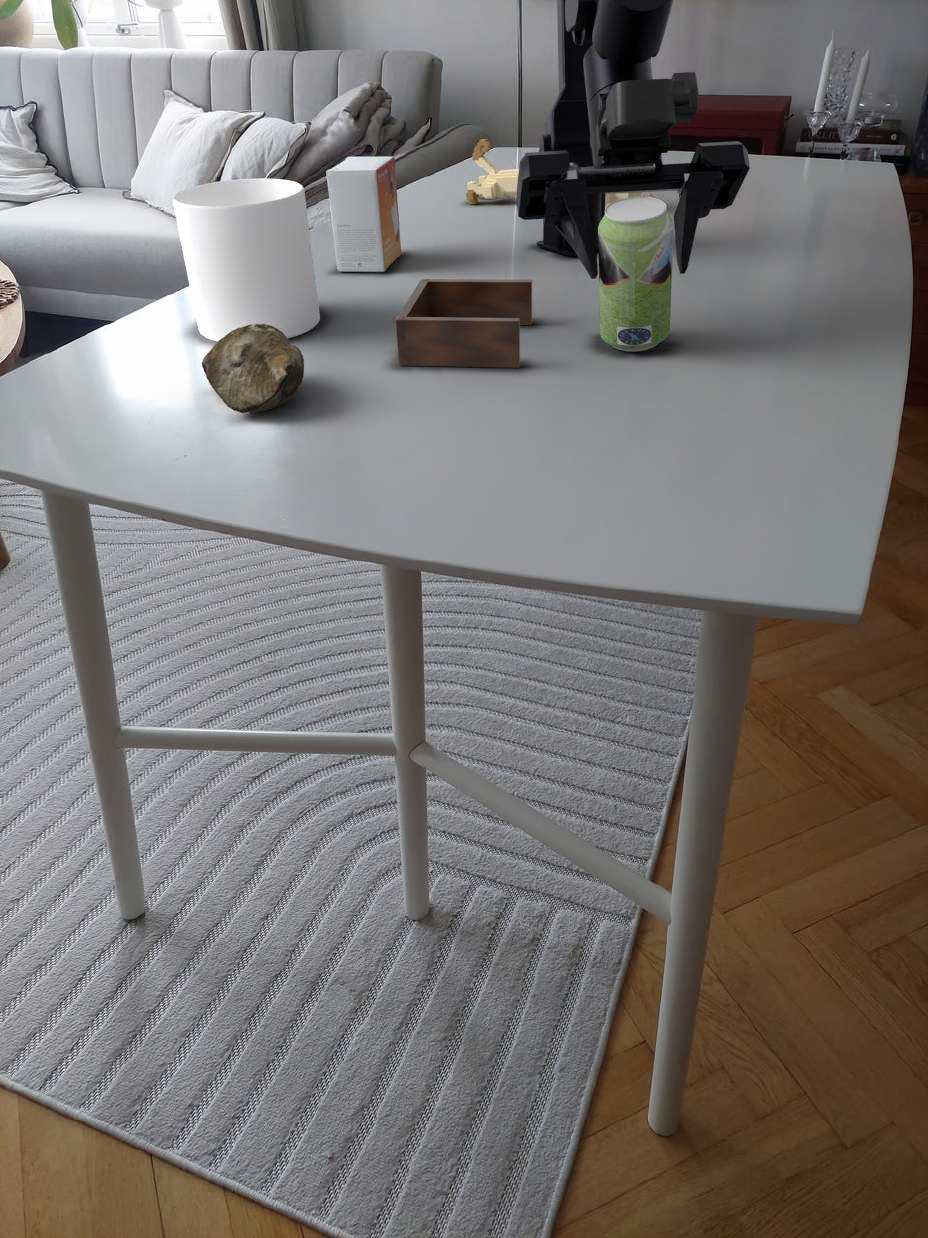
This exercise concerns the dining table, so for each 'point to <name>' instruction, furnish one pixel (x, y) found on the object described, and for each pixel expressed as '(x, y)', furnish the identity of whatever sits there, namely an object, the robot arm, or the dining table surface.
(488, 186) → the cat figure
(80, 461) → the dining table surface
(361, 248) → the small box
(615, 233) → the beverage can
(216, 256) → the cup
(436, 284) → the case
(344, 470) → the dining table surface
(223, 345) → the fossilized seashell
